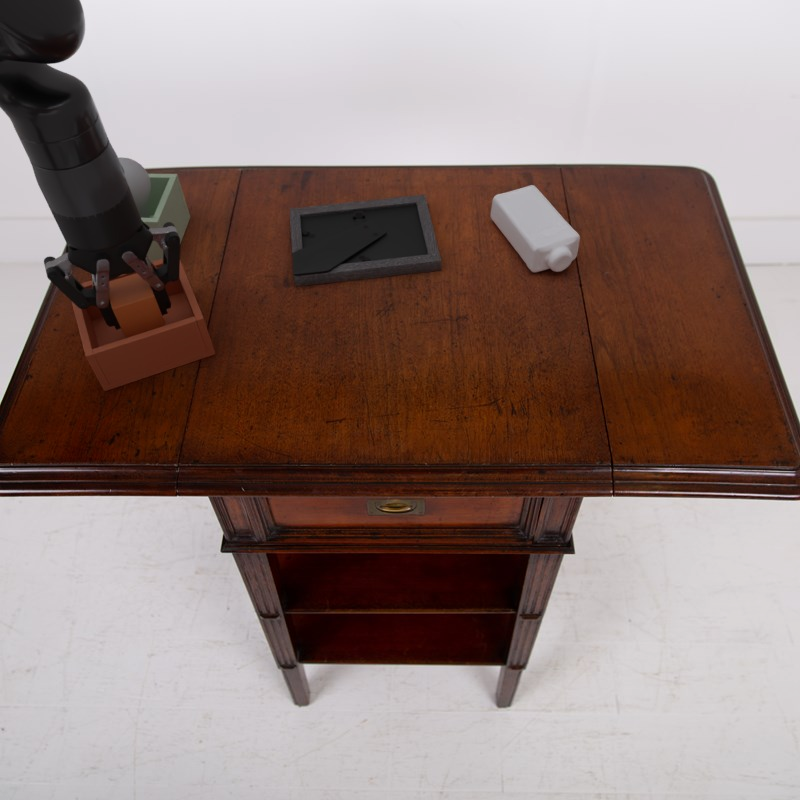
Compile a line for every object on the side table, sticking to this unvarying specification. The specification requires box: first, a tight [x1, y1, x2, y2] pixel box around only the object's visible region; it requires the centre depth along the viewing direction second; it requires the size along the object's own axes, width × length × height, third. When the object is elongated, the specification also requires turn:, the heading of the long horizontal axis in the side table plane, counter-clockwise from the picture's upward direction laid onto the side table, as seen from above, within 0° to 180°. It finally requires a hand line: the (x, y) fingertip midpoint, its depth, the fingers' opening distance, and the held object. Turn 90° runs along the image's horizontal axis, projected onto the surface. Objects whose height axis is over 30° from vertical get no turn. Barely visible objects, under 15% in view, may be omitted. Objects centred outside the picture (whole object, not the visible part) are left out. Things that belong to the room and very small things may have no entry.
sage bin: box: [141, 173, 191, 262], centre depth 96 cm, size 10×10×7 cm
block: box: [109, 273, 166, 338], centre depth 83 cm, size 4×4×4 cm
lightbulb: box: [118, 156, 151, 218], centre depth 94 cm, size 6×6×11 cm
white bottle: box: [490, 184, 581, 273], centre depth 94 cm, size 6×13×4 cm, turn 22°
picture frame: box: [289, 193, 442, 287], centre depth 96 cm, size 13×2×18 cm
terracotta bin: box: [71, 259, 216, 392], centre depth 85 cm, size 13×12×6 cm
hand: (140, 316), depth 85 cm, fingers closed on block, 4 cm apart
